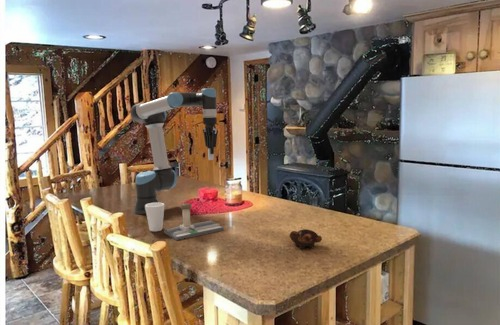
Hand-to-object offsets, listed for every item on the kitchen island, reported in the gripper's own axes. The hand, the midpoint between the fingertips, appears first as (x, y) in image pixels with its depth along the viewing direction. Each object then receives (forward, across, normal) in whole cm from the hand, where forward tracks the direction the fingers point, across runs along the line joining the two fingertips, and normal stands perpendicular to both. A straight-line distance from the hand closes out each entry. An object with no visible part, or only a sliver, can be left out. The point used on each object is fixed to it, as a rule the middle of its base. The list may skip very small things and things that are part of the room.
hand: (211, 159), depth 225 cm
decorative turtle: (+33, +68, +8) cm, 76 cm away
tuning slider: (+31, +20, -25) cm, 44 cm away
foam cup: (+33, +3, -35) cm, 48 cm away
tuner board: (+32, +18, -22) cm, 43 cm away
